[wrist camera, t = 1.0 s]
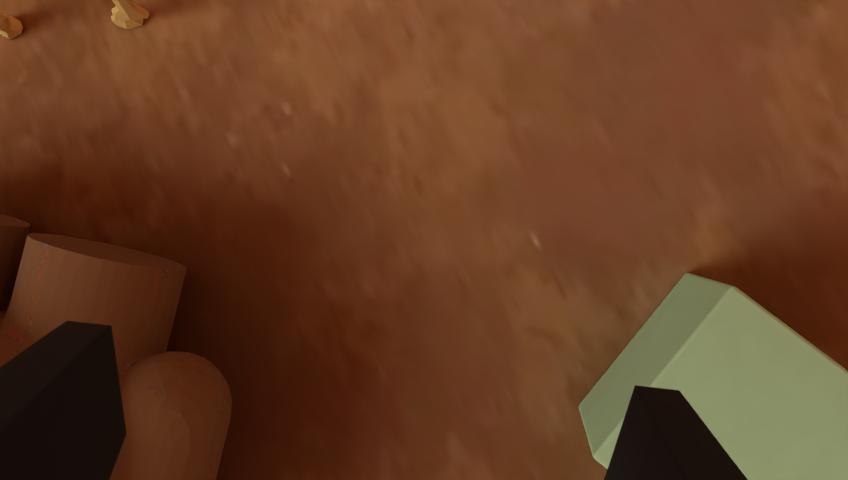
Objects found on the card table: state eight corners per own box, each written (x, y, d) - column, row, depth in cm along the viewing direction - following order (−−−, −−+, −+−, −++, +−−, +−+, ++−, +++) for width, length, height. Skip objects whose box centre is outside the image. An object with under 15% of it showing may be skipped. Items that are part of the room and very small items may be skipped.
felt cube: (832, 381, 22) (925, 427, 17) (718, 516, 22) (774, 601, 17) (686, 271, 22) (733, 284, 17) (577, 406, 23) (591, 457, 18)
